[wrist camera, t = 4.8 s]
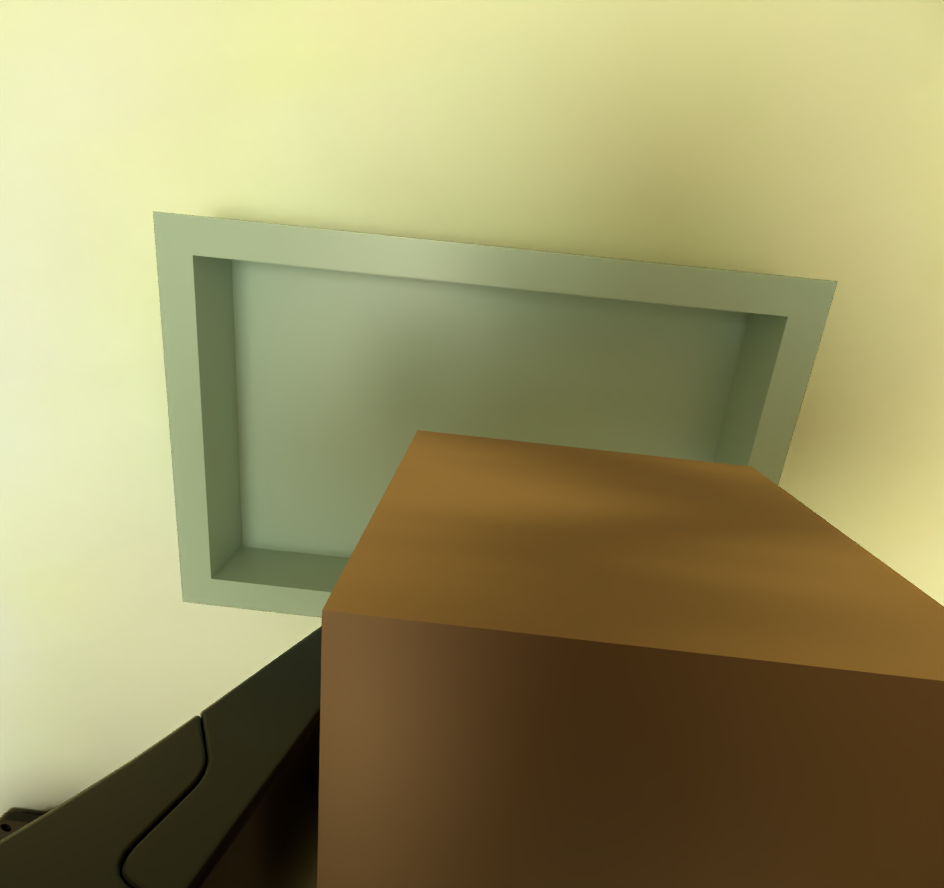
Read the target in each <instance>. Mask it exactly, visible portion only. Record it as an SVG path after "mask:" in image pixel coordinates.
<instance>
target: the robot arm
mask: <svg viewBox="0 0 944 888" xmlns="http://www.w3.org/2000/svg"><path fill="white" fill-rule="evenodd" d="M321 642H322V626H321V627H320V628H318V629H317V630H316V631H314V632H313V633H311V634H310V635H309V636H307V637H306V638H304V639H303V640H302V641H300V642H299V643H297V644H296V645H294V646H293V647H292V648H290V649H289V650H287V651H286V652H285V653H283V654H282V655H280V656H279V657H278V658H276V659H275V660H273V661H272V662H271V663H269V664H268V665H266V666H265V667H264V668H262V669H261V670H259V671H258V672H257V673H255V674H254V675H252V676H251V677H250V678H248V679H247V680H245V681H244V682H243V683H241V684H240V685H238V686H237V687H236V688H234V689H233V690H231V691H230V692H229V693H227V694H226V695H224V696H223V697H222V698H220V699H219V700H217V701H216V702H215V703H213V704H212V705H210V706H209V707H208V708H206V709H205V710H203V711H202V712H201V714H200V717H199V716H195V717H193V718H192V719H190V720H189V721H188V722H186V723H185V724H183V725H182V726H180V727H179V728H178V729H176V730H175V731H173V732H172V733H171V734H169V735H168V736H166V737H165V738H163V739H162V740H160V741H159V742H157V743H156V744H155V745H153V746H152V747H150V748H149V749H147V750H146V751H144V752H143V753H141V754H140V755H138V756H137V757H135V758H134V759H132V760H131V761H130V762H128V763H127V764H125V765H123V766H122V767H120V768H119V769H117V770H115V771H114V772H112V773H111V774H109V775H107V776H106V777H104V778H103V779H101V780H99V781H98V782H96V783H95V784H93V785H91V786H90V787H88V788H87V789H85V790H83V791H82V792H80V793H79V794H77V795H76V796H74V797H72V798H71V799H69V800H67V801H66V802H64V803H62V804H61V805H59V806H57V807H56V808H54V809H52V810H51V811H49V812H47V813H46V814H44V815H36V814H27V813H19V812H6V813H4V814H3V815H2V817H1V818H0V888H317V866H318V810H319V754H320V698H321Z"/></svg>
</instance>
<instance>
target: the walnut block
mask: <svg viewBox="0 0 944 888" xmlns="http://www.w3.org/2000/svg"><path fill="white" fill-rule="evenodd" d="M317 888H944V607H943V606H942V605H941V604H939V603H938V602H937V601H935V600H934V599H932V598H931V597H930V596H928V595H927V594H926V593H924V592H923V591H922V590H920V589H919V588H917V587H916V586H915V585H913V584H912V583H911V582H909V581H908V580H906V579H905V578H904V577H902V576H901V575H900V574H898V573H897V572H895V571H894V570H893V569H891V568H890V567H889V566H887V565H886V564H885V563H883V562H882V561H880V560H879V559H878V558H876V557H875V556H874V555H872V554H871V553H869V552H868V551H867V550H865V549H864V548H863V547H861V546H860V545H859V544H857V543H856V542H854V541H853V540H852V539H850V538H849V537H848V536H846V535H845V534H843V533H842V532H841V531H839V530H838V529H837V528H835V527H834V526H832V525H831V524H830V523H828V522H827V521H826V520H824V519H823V518H822V517H820V516H819V515H817V514H816V513H815V512H813V511H812V510H811V509H809V508H808V507H806V506H805V505H804V504H802V503H801V502H800V501H798V500H797V499H796V498H794V497H793V496H791V495H790V494H789V493H787V492H786V491H785V490H783V489H782V488H780V487H779V486H778V485H776V484H775V483H774V482H772V481H771V480H769V479H768V478H767V477H765V476H764V475H763V474H761V473H760V472H759V471H757V470H756V469H754V468H753V467H752V466H743V465H733V464H724V463H715V462H706V461H697V460H687V459H678V458H669V457H660V456H651V455H642V454H632V453H623V452H614V451H605V450H596V449H586V448H577V447H568V446H559V445H550V444H541V443H531V442H522V441H513V440H504V439H495V438H485V437H476V436H467V435H458V434H449V433H439V432H430V431H421V430H418V431H417V432H416V434H415V436H414V438H413V440H412V442H411V444H410V446H409V447H408V449H407V451H406V453H405V455H404V457H403V459H402V461H401V463H400V464H399V466H398V468H397V470H396V472H395V474H394V476H393V478H392V479H391V481H390V483H389V485H388V487H387V489H386V491H385V493H384V495H383V496H382V498H381V500H380V502H379V504H378V506H377V508H376V510H375V511H374V513H373V515H372V517H371V519H370V521H369V523H368V525H367V527H366V528H365V530H364V532H363V534H362V536H361V538H360V540H359V542H358V543H357V545H356V547H355V549H354V551H353V553H352V555H351V557H350V559H349V560H348V562H347V564H346V566H345V568H344V570H343V572H342V574H341V575H340V577H339V579H338V581H337V583H336V585H335V587H334V589H333V591H332V592H331V594H330V596H329V598H328V600H327V602H326V604H325V606H324V607H323V609H322V642H321V698H320V754H319V810H318V866H317Z"/></svg>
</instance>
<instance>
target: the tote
mask: <svg viewBox="0 0 944 888" xmlns="http://www.w3.org/2000/svg"><path fill="white" fill-rule="evenodd" d="M153 218H154V231H155V244H156V257H157V270H158V283H159V296H160V309H161V322H162V335H163V348H164V361H165V375H166V388H167V401H168V414H169V427H170V440H171V453H172V466H173V479H174V492H175V505H176V518H177V531H178V544H179V557H180V571H181V584H182V597H183V602H189V603H198V604H207V605H216V606H225V607H233V608H242V609H251V610H260V611H269V612H277V613H286V614H295V615H304V616H313V617H321V618H322V609H323V607H324V606H325V604H326V602H327V600H328V598H329V596H330V594H331V592H332V591H333V589H334V587H335V585H336V583H337V581H338V579H339V577H340V575H341V574H342V572H343V570H344V568H345V566H346V564H347V562H348V560H349V559H350V557H351V555H352V553H353V551H354V549H355V547H356V545H357V543H358V542H359V540H360V538H361V536H362V534H363V532H364V530H365V528H366V527H367V525H368V523H369V521H370V519H371V517H372V515H373V513H374V511H375V510H376V508H377V506H378V504H379V502H380V500H381V498H382V496H383V495H384V493H385V491H386V489H387V487H388V485H389V483H390V481H391V479H392V478H393V476H394V474H395V472H396V470H397V468H398V466H399V464H400V463H401V461H402V459H403V457H404V455H405V453H406V451H407V449H408V447H409V446H410V444H411V442H412V440H413V438H414V436H415V434H416V432H417V431H418V430H421V431H430V432H439V433H449V434H458V435H467V436H476V437H485V438H495V439H504V440H513V441H522V442H531V443H541V444H550V445H559V446H568V447H577V448H586V449H596V450H605V451H614V452H623V453H632V454H642V455H651V456H660V457H669V458H678V459H687V460H697V461H706V462H715V463H724V464H733V465H743V466H752V467H753V468H754V469H756V470H757V471H759V472H760V473H761V474H763V475H764V476H765V477H767V478H768V479H769V480H771V481H772V482H774V483H775V484H776V485H778V483H779V479H780V476H781V473H782V469H783V466H784V462H785V459H786V456H787V452H788V449H789V445H790V442H791V438H792V435H793V432H794V428H795V425H796V421H797V418H798V415H799V411H800V408H801V404H802V401H803V398H804V394H805V391H806V387H807V384H808V380H809V377H810V374H811V370H812V367H813V363H814V360H815V357H816V353H817V350H818V346H819V343H820V340H821V336H822V333H823V329H824V326H825V322H826V319H827V316H828V312H829V309H830V305H831V302H832V299H833V295H834V292H835V288H836V285H837V281H829V280H819V279H810V278H800V277H790V276H780V275H770V274H761V273H751V272H741V271H731V270H722V269H712V268H702V267H692V266H682V265H673V264H663V263H653V262H643V261H634V260H624V259H614V258H604V257H594V256H585V255H575V254H565V253H555V252H546V251H536V250H526V249H516V248H506V247H497V246H487V245H477V244H467V243H458V242H448V241H438V240H428V239H418V238H409V237H399V236H389V235H379V234H370V233H360V232H350V231H340V230H330V229H321V228H311V227H301V226H291V225H282V224H272V223H262V222H252V221H242V220H233V219H223V218H213V217H203V216H194V215H184V214H174V213H164V212H154V211H153Z"/></svg>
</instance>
